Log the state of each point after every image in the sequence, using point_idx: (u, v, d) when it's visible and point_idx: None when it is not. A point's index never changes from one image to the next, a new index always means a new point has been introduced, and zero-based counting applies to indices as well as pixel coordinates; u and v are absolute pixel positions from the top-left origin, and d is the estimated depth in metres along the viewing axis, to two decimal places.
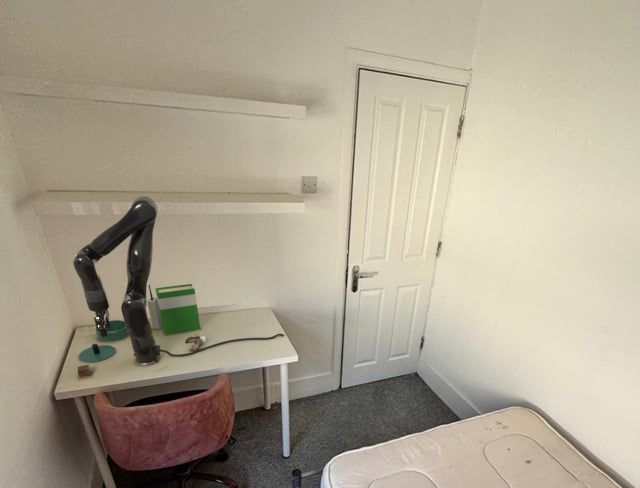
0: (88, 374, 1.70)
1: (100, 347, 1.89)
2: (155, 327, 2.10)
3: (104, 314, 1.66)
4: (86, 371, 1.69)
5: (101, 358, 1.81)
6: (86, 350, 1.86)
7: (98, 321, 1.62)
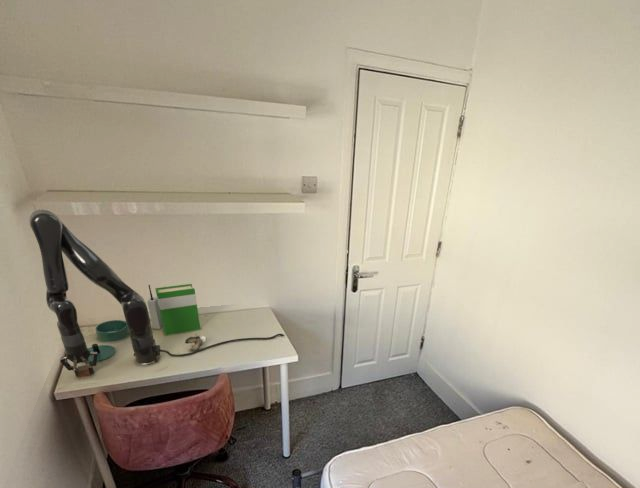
0: (88, 374, 1.70)
1: (100, 347, 1.89)
2: (155, 327, 2.10)
3: (73, 358, 1.64)
4: (86, 371, 1.69)
5: (101, 358, 1.81)
6: None
7: None
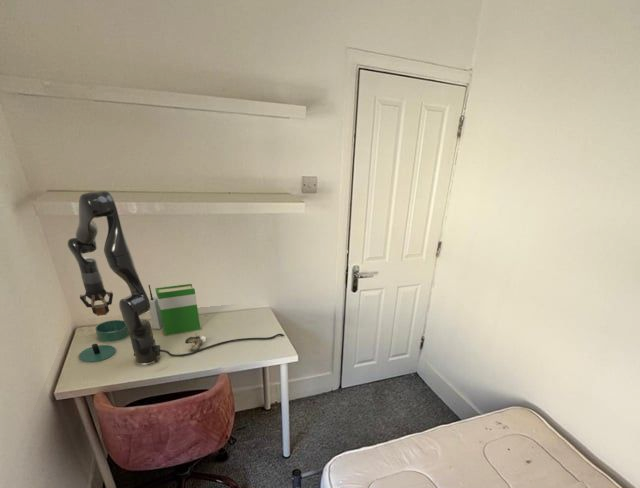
0: (104, 312, 1.88)
1: (100, 347, 1.89)
2: (155, 327, 2.10)
3: (92, 295, 1.82)
4: (102, 309, 1.87)
5: (101, 358, 1.81)
6: (86, 350, 1.86)
7: None
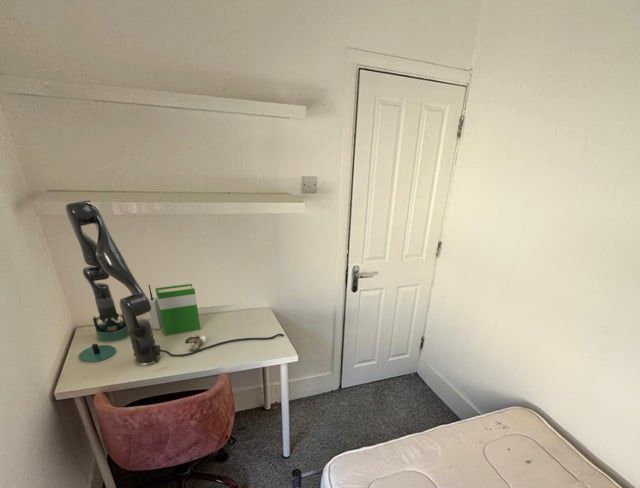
0: None
1: (100, 347, 1.89)
2: (155, 327, 2.10)
3: (105, 319, 1.94)
4: (114, 331, 1.99)
5: (101, 358, 1.81)
6: (86, 350, 1.86)
7: (93, 320, 1.93)
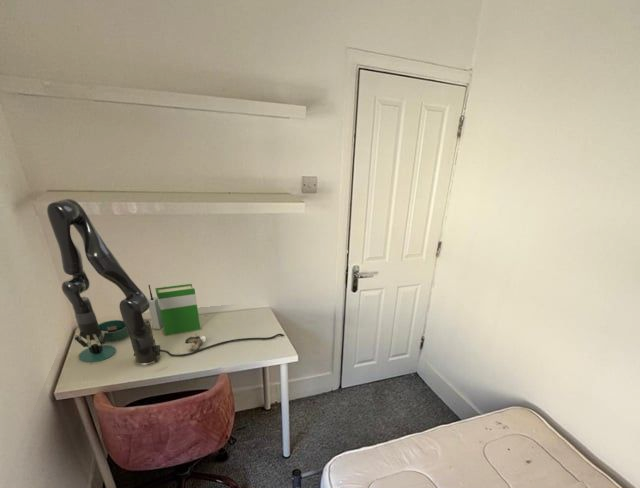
0: None
1: None
2: (155, 327, 2.10)
3: (86, 335, 1.77)
4: (114, 331, 1.99)
5: (101, 358, 1.81)
6: (86, 350, 1.86)
7: None
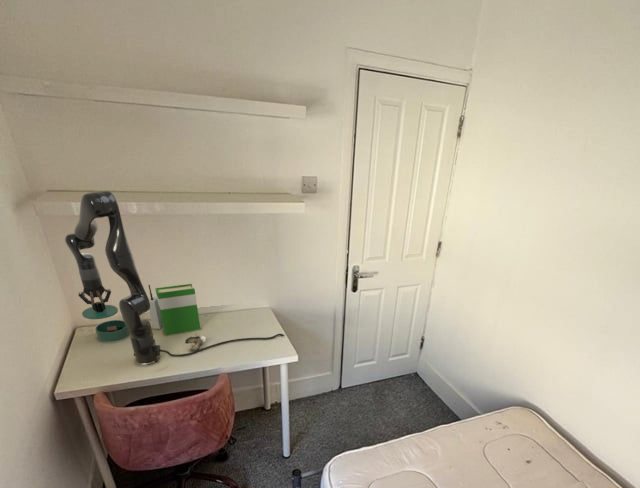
0: None
1: None
2: (155, 327, 2.10)
3: (90, 292, 1.80)
4: (114, 331, 1.99)
5: (104, 315, 1.85)
6: (89, 309, 1.89)
7: None
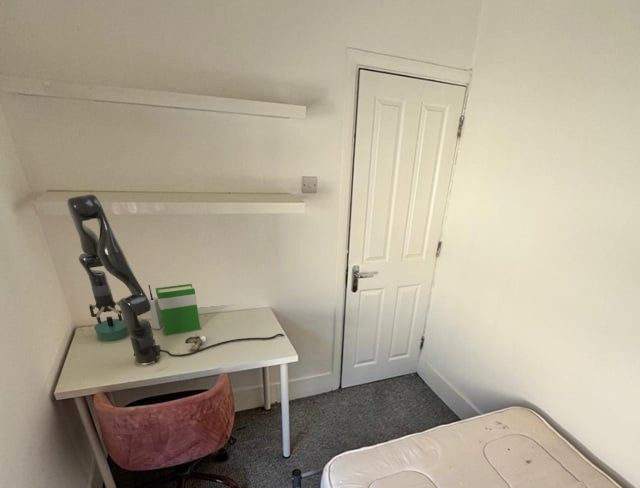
0: None
1: (113, 320, 2.03)
2: (155, 327, 2.10)
3: (101, 307, 1.91)
4: None
5: (115, 330, 1.95)
6: None
7: (90, 308, 1.90)
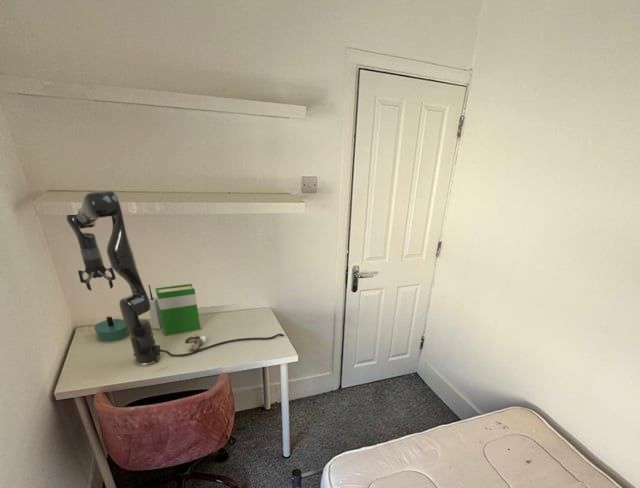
0: None
1: (113, 320, 2.03)
2: (155, 327, 2.10)
3: (91, 272, 1.81)
4: None
5: (115, 330, 1.95)
6: (101, 323, 1.99)
7: (79, 273, 1.80)
